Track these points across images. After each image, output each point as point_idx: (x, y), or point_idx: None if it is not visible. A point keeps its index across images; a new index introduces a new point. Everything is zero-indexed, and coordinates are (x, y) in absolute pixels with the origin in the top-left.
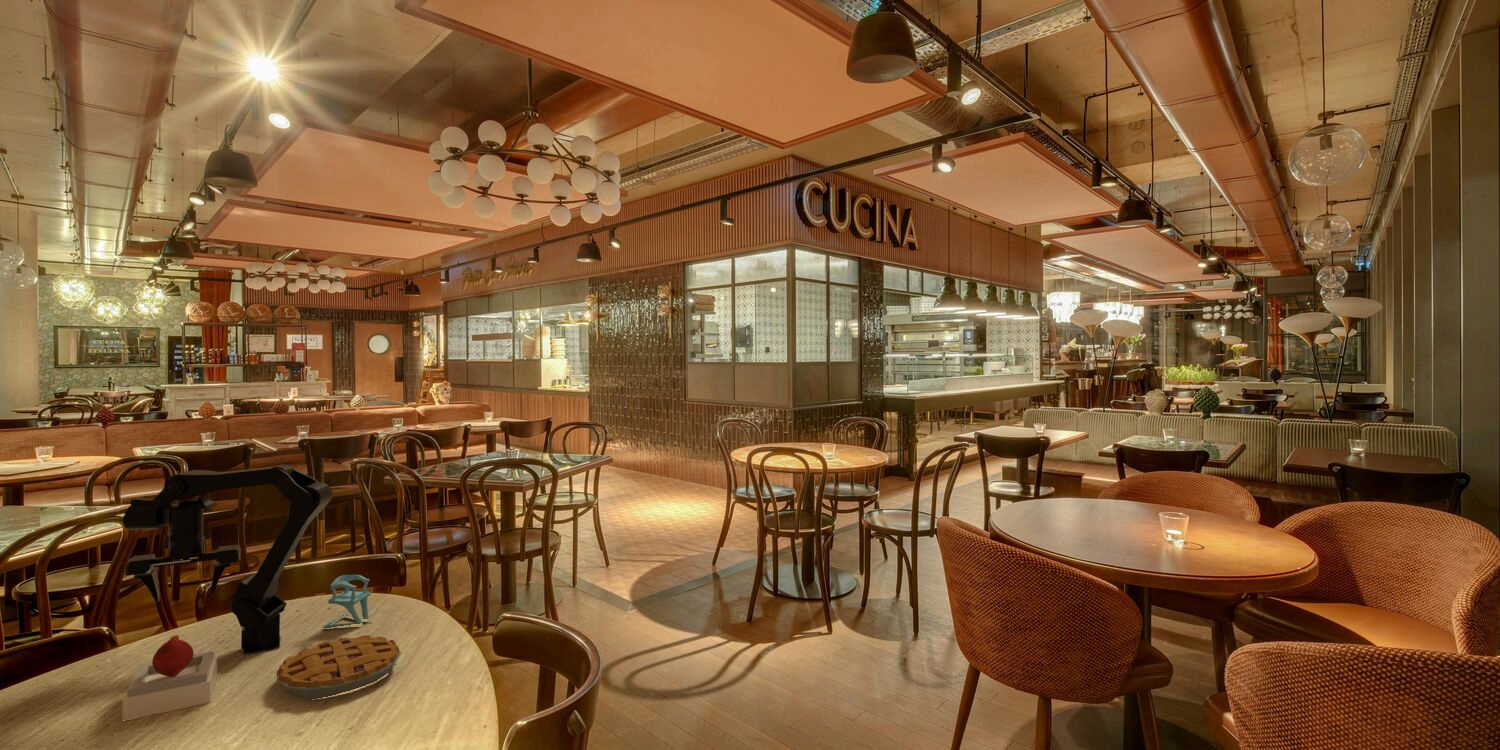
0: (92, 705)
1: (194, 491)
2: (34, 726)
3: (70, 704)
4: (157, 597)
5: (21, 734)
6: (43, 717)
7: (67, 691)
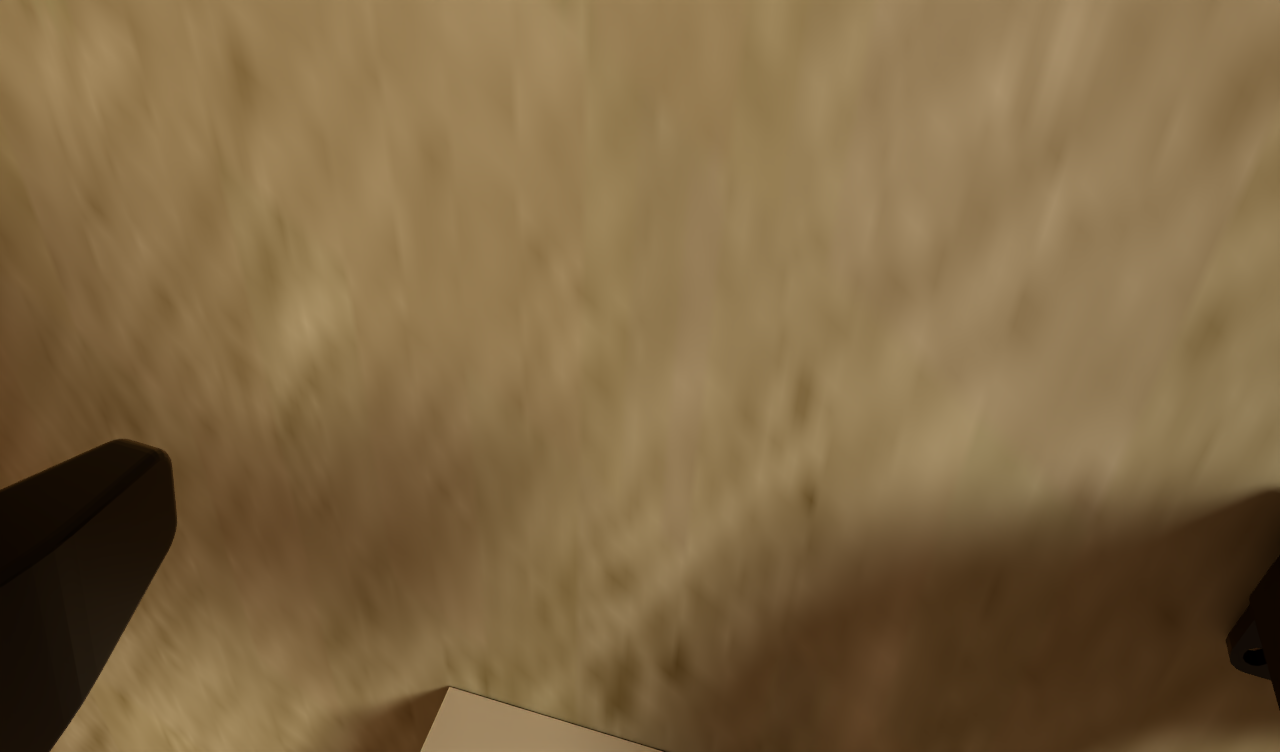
0: (244, 665)
1: None
2: None
3: None
4: (94, 673)
5: None
6: None
7: (15, 340)
